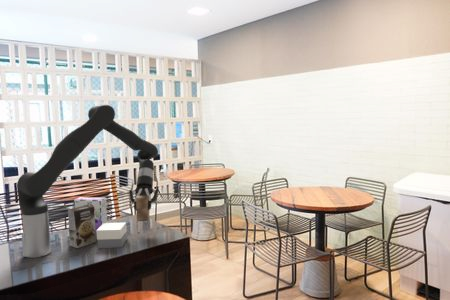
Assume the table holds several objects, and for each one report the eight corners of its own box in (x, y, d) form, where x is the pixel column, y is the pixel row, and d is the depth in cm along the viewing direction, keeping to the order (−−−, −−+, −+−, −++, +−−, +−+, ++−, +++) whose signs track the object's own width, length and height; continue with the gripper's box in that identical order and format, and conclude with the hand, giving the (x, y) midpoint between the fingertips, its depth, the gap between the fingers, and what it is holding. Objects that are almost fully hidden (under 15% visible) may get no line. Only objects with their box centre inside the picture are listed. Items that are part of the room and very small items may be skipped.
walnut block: (137, 221, 161) (136, 197, 160) (138, 218, 166) (137, 195, 165) (148, 220, 162) (147, 197, 161) (149, 217, 167) (148, 194, 166)
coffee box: (77, 248, 148) (75, 211, 147) (69, 245, 152) (66, 209, 151) (96, 242, 156) (94, 206, 154) (88, 239, 160) (86, 204, 158)
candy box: (75, 233, 168) (72, 199, 166) (82, 229, 174) (80, 196, 172) (102, 234, 166) (100, 200, 164) (108, 230, 172) (106, 197, 170)
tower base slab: (98, 249, 149) (97, 239, 148) (104, 240, 158) (103, 232, 158) (122, 247, 149) (121, 238, 149) (126, 239, 159) (126, 230, 159)
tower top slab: (96, 239, 148) (96, 230, 148) (104, 231, 158) (103, 223, 158) (120, 238, 149) (120, 229, 148) (126, 231, 159) (126, 222, 158)
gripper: (129, 175, 169) (125, 206, 158) (159, 174, 170) (157, 205, 159) (131, 183, 175) (127, 214, 164) (160, 183, 176) (159, 213, 165)
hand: (142, 209), depth 162 cm, fingers closed on walnut block, 5 cm apart
